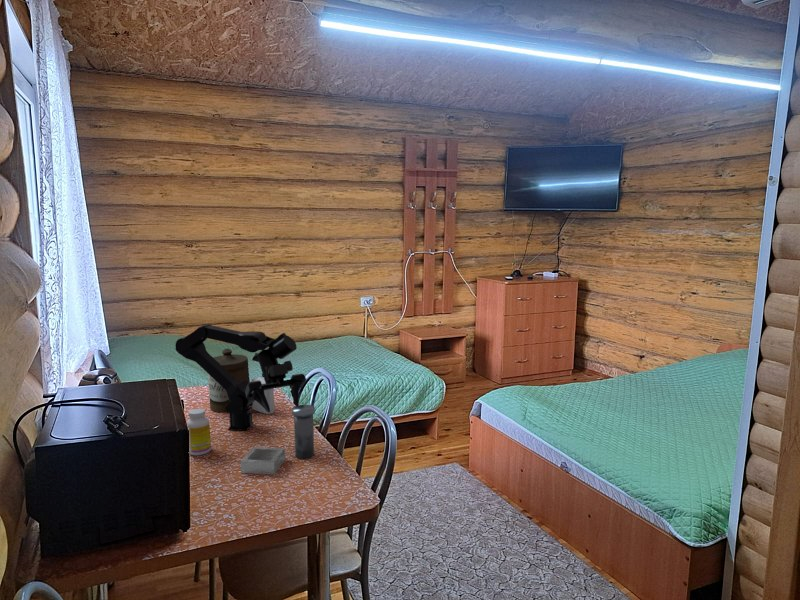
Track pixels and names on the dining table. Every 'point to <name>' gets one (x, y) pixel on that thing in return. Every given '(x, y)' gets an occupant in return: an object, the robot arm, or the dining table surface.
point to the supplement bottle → (199, 432)
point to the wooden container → (236, 368)
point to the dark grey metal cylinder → (304, 431)
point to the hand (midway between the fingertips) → (283, 409)
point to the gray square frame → (263, 460)
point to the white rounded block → (269, 396)
